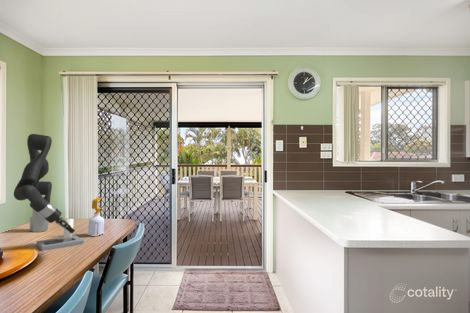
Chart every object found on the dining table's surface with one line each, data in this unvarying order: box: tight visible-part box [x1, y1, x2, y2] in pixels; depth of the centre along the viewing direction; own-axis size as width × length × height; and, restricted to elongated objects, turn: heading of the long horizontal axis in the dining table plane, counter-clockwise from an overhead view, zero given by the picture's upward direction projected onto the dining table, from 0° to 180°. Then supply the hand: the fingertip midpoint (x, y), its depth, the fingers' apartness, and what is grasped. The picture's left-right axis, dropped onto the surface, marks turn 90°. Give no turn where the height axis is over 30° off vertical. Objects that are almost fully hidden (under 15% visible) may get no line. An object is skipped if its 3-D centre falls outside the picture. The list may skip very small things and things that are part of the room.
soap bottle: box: [87, 197, 105, 236], centre depth 171 cm, size 9×9×25 cm
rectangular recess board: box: [35, 235, 85, 252], centre depth 149 cm, size 20×14×2 cm
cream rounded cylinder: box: [63, 218, 74, 242], centre depth 152 cm, size 4×4×13 cm
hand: (72, 231), depth 153 cm, fingers closed on cream rounded cylinder, 4 cm apart
